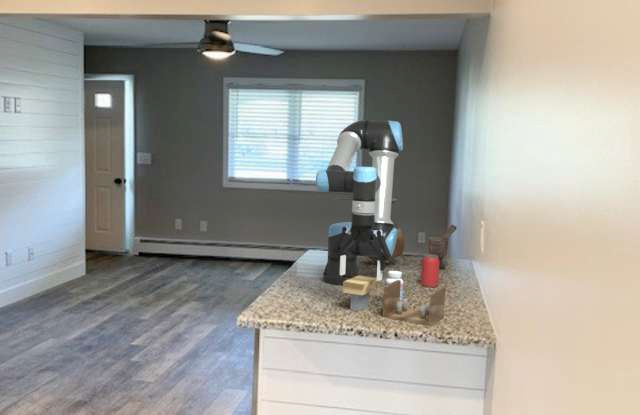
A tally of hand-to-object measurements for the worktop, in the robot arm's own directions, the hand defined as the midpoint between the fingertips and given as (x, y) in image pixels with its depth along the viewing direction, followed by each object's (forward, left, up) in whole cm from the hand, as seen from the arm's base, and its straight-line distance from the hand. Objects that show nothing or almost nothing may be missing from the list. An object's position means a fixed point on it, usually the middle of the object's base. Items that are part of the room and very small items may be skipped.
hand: (360, 277), depth 200 cm
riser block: (0, 0, -10) cm, 10 cm away
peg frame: (+19, 0, -10) cm, 22 cm away
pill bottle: (+8, +11, -11) cm, 17 cm away
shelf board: (0, 0, -4) cm, 4 cm away
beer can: (+9, +45, -11) cm, 47 cm away
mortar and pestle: (+1, +81, -11) cm, 82 cm away
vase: (-23, +71, -11) cm, 76 cm away
